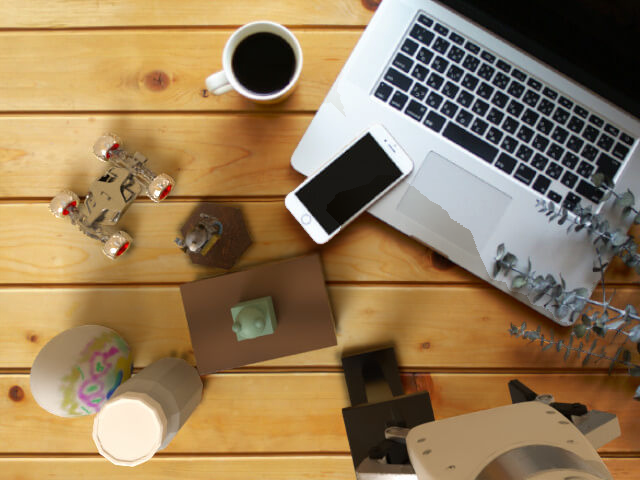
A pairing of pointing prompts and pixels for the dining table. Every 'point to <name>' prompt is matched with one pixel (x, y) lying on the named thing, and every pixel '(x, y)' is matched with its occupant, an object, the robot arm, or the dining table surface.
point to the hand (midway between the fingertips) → (456, 410)
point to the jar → (147, 411)
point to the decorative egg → (80, 370)
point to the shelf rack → (253, 283)
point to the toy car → (112, 195)
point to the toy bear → (254, 318)
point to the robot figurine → (215, 236)
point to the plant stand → (377, 399)
